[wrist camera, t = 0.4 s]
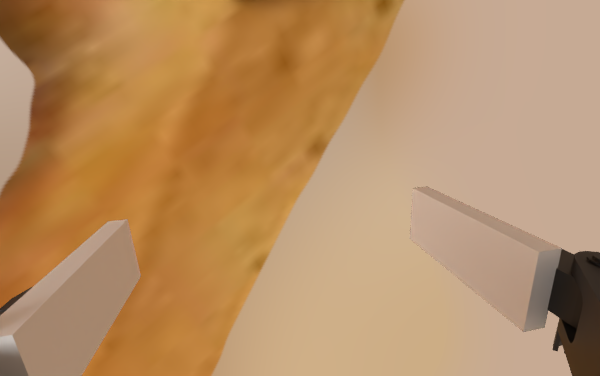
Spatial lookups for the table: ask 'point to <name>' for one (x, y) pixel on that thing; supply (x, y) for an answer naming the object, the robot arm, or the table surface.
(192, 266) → the table surface
